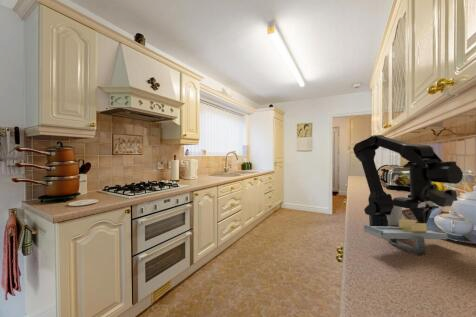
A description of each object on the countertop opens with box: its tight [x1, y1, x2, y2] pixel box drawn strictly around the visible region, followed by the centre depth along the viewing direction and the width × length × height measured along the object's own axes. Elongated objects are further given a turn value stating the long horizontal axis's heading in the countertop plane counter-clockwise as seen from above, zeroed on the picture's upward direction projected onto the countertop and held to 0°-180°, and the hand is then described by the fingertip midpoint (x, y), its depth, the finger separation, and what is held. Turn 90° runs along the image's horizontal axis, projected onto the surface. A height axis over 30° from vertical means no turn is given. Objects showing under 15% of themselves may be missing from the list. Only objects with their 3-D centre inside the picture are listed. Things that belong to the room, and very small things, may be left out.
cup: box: [386, 206, 403, 227], centre depth 97 cm, size 7×10×9 cm
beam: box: [363, 224, 448, 241], centre depth 70 cm, size 8×26×3 cm, turn 100°
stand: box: [388, 236, 426, 257], centre depth 70 cm, size 11×2×6 cm, turn 10°
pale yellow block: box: [398, 218, 428, 233], centre depth 70 cm, size 4×6×4 cm
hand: (423, 225), depth 71 cm, fingers closed
